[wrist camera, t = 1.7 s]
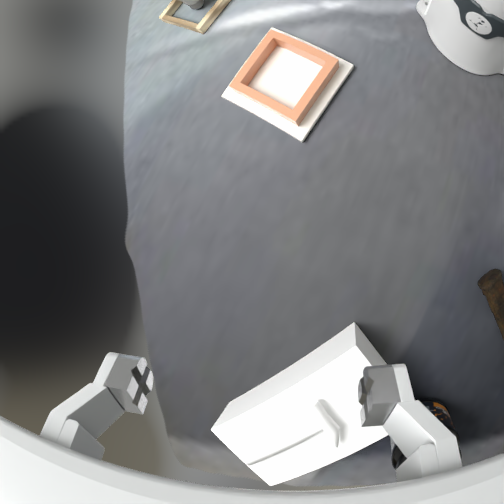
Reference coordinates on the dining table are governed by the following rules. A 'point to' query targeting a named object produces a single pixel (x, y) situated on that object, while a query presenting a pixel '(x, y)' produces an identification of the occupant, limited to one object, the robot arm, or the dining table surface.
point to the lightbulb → (193, 3)
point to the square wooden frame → (200, 27)
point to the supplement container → (441, 414)
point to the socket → (288, 82)
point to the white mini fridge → (304, 412)
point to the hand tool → (494, 295)
